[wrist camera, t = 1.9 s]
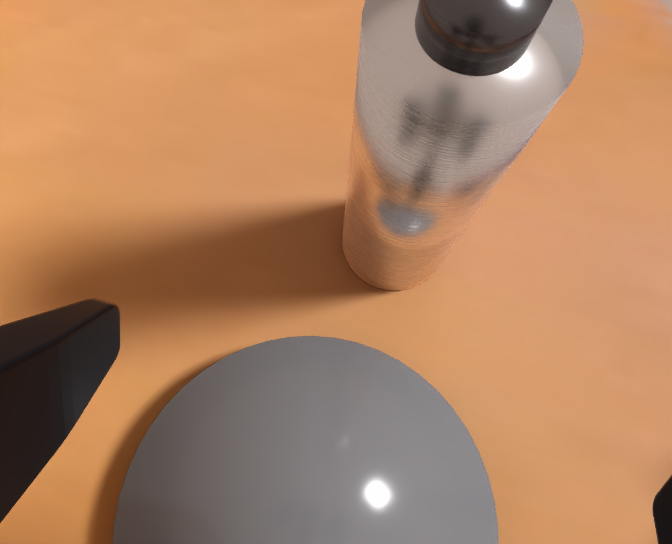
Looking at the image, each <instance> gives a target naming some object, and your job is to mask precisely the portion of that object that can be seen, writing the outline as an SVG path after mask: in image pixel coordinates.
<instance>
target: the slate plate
mask: <svg viewBox="0 0 672 544" xmlns="http://www.w3.org/2000/svg"><path fill="white" fill-rule="evenodd" d="M113 544H498V524H497V516H496V508H495V501H494V497H493V493H492V489H491V485H490V481H489V477H488V474H487V472H486V469H485V466H484V464H483V461H482V458H481V456H480V453H479V451H478V449H477V447H476V445H475V443H474V441H473V439H472V437H471V436H470V434H469V432H468V430H467V428H466V427H465V425H464V424H463V422H462V421H461V419H460V418H459V416H458V415H457V414H456V412H455V411H454V409H453V408H452V407H451V406H450V404H449V403H448V402H447V401H446V400H445V399H444V398H443V397H442V395H441V394H440V393H439V392H438V391H437V390H436V389H435V388H434V387H433V386H432V385H431V384H429V383H428V382H427V381H426V380H425V379H424V378H423V377H421V376H420V375H419V374H418V373H416V372H415V371H414V370H412V369H411V368H409V367H408V366H406V365H405V364H403V363H402V362H400V361H399V360H397V359H395V358H393V357H391V356H389V355H387V354H385V353H383V352H381V351H379V350H376V349H374V348H371V347H368V346H365V345H362V344H359V343H357V342H352V341H347V340H342V339H338V338H331V337H318V336H302V337H287V338H282V339H276V340H271V341H266V342H263V343H260V344H256V345H253V346H250V347H247V348H244V349H242V350H240V351H238V352H236V353H233V354H231V355H229V356H227V357H225V358H223V359H221V360H220V361H218V362H216V363H215V364H213V365H212V366H210V367H208V368H207V369H205V370H204V371H202V372H201V373H200V374H199V375H197V376H196V377H195V378H194V379H192V380H191V381H190V382H189V383H187V384H186V385H185V386H184V387H183V388H182V389H181V390H180V391H179V392H178V393H177V394H176V395H175V396H174V397H173V398H172V399H171V400H170V401H169V402H168V403H167V404H166V406H165V407H164V408H163V410H162V411H161V412H160V414H159V415H158V416H157V418H156V419H155V420H154V421H153V423H152V424H151V426H150V427H149V429H148V431H147V432H146V434H145V436H144V438H143V439H142V441H141V443H140V444H139V446H138V448H137V450H136V452H135V455H134V457H133V459H132V462H131V464H130V466H129V468H128V471H127V473H126V477H125V480H124V483H123V486H122V490H121V493H120V496H119V500H118V506H117V511H116V517H115V522H114V532H113Z"/></svg>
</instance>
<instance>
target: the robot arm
mask: <svg viewBox="0 0 672 544" xmlns="http://www.w3.org/2000/svg"><path fill="white" fill-rule="evenodd" d="M119 348H120V311H119V308H118V306H117V305H116V304H114V303H110V302H107V301H103V300H100V299H95V298H91V299H87V300H84V301H80V302H77V303H74V304H71V305H67V306H64V307H61V308H57V309H54V310H51V311H48V312H44V313H41V314H38V315H34V316H31V317H28V318H25V319H21V320H18V321H15V322H11V323H8V324H5V325H2V326H0V523H1V522H2V520H3V519H4V518H5V516H6V515H7V514H8V513H9V511H10V510H11V509H12V507H13V506H14V505H15V504H16V502H17V501H18V500H19V498H20V497H21V496H22V495H23V493H24V492H25V491H26V489H27V488H28V487H29V486H30V484H31V483H32V482H33V481H34V479H35V478H36V477H37V475H38V474H39V473H40V472H41V470H42V469H43V468H44V466H45V465H46V464H47V463H48V461H49V460H50V459H51V457H52V456H53V455H54V454H55V452H56V451H57V450H58V448H59V447H60V446H61V444H62V443H63V442H64V440H65V439H66V437H67V436H68V434H69V433H70V431H71V430H72V428H73V427H74V425H75V424H76V422H77V421H78V419H79V417H80V416H81V414H82V413H83V411H84V409H85V408H86V406H87V405H88V403H89V401H90V400H91V398H92V396H93V395H94V393H95V392H96V390H97V388H98V387H99V385H100V384H101V382H102V380H103V379H104V377H105V376H106V374H107V372H108V371H109V369H110V368H111V366H112V364H113V363H114V361H115V359H116V357H117V355H118V352H119ZM653 517H654V522H655V528H656V533H657V539H658V544H672V475H671V477H670V478H669V479H668V480H667V482H666V483H665V484H664V486H663V487H662V488H661V489H660V491H659V492H658V493H657V495H656V496H655V499H654V502H653Z"/></svg>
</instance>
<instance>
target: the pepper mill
mask: <svg viewBox="0 0 672 544" xmlns="http://www.w3.org/2000/svg"><path fill="white" fill-rule="evenodd" d="M583 44H584V39H583V29H582V24H581V20H580V17H579V14H578V11H577V9H576V6H575V5H574V3H573V1H572V0H366V1H365V4H364V8H363V12H362V23H361V35H360V46H359V57H358V68H357V80H356V91H355V102H354V114H353V125H352V136H351V147H350V159H349V170H348V181H347V192H346V204H345V215H344V226H343V238H342V244H343V251H344V255H345V258H346V260H347V262H348V264H349V266H350V267H351V269H352V270H353V271H354V272H355V274H356V275H357V276H358V277H360V278H361V279H362V280H363V281H365V282H366V283H368V284H370V285H372V286H374V287H377V288H380V289H384V290H392V291H398V290H406V289H410V288H413V287H415V286H417V285H420V284H421V283H423V282H424V281H426V280H427V279H428V278H429V277H430V276H431V275H432V274H433V273H434V272H435V270H436V269H437V268H438V266H439V265H440V263H441V262H442V261H443V259H444V258H445V256H446V255H447V254H448V252H449V251H450V250H451V248H452V247H453V245H454V244H455V243H456V241H457V240H458V238H459V237H460V236H461V234H462V233H463V232H464V230H465V229H466V227H467V226H468V225H469V223H470V222H471V220H472V219H473V218H474V216H475V215H476V214H477V212H478V211H479V209H480V208H481V207H482V205H483V204H484V202H485V201H486V200H487V198H488V197H489V196H490V194H491V193H492V191H493V190H494V189H495V187H496V186H497V184H498V183H499V182H500V180H501V179H502V178H503V176H504V175H505V173H506V172H507V171H508V169H509V168H510V166H511V165H512V164H513V162H514V161H515V160H516V158H517V157H518V155H519V154H520V153H521V151H522V150H523V148H524V147H525V146H526V144H527V143H528V142H529V140H530V139H531V137H532V136H533V135H534V133H535V132H536V130H537V129H538V128H539V126H540V125H541V124H542V122H543V121H544V119H545V118H546V117H547V115H548V114H549V112H550V111H551V110H552V108H553V107H554V106H555V104H556V103H557V101H558V100H559V99H560V97H561V96H562V94H563V93H564V92H565V90H566V89H567V88H568V86H569V85H570V83H571V81H572V80H573V78H574V77H575V75H576V73H577V70H578V68H579V66H580V62H581V58H582V54H583Z"/></svg>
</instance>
